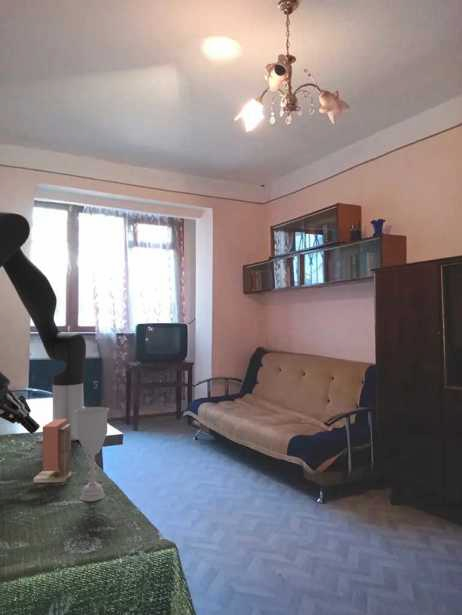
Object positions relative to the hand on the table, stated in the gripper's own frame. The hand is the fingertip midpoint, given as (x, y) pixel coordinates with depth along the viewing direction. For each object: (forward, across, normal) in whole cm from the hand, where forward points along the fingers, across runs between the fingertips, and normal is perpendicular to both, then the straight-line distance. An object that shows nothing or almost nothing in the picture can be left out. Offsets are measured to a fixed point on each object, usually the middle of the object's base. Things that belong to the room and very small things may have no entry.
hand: (36, 430), depth 108 cm
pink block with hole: (+9, 0, +3) cm, 9 cm away
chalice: (+20, -12, -3) cm, 23 cm away
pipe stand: (+11, 0, +5) cm, 12 cm away
